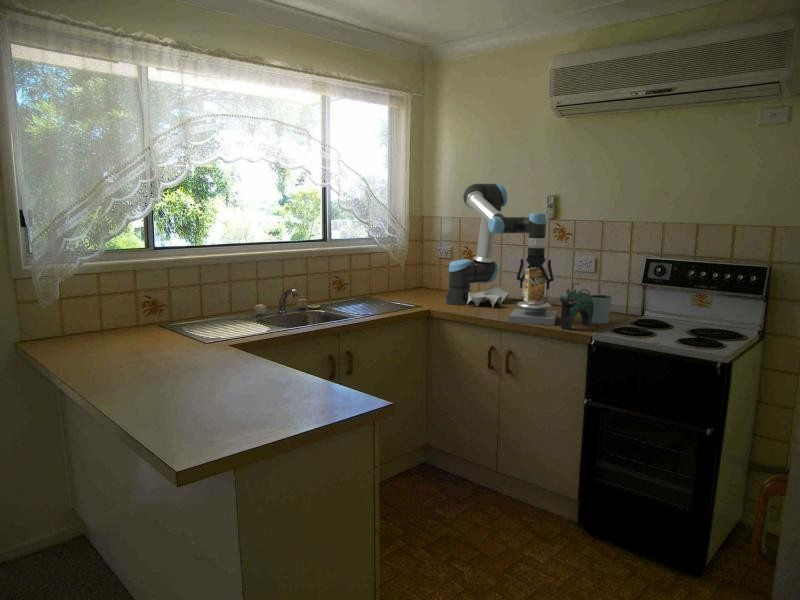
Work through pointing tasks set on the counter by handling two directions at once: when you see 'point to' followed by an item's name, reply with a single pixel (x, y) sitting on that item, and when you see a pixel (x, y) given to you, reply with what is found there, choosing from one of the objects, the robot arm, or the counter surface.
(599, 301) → the pale blue cup
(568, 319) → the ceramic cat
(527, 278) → the candy box
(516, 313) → the kitchen scale
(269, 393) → the counter surface
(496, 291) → the white irregular piece
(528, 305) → the scale pan
